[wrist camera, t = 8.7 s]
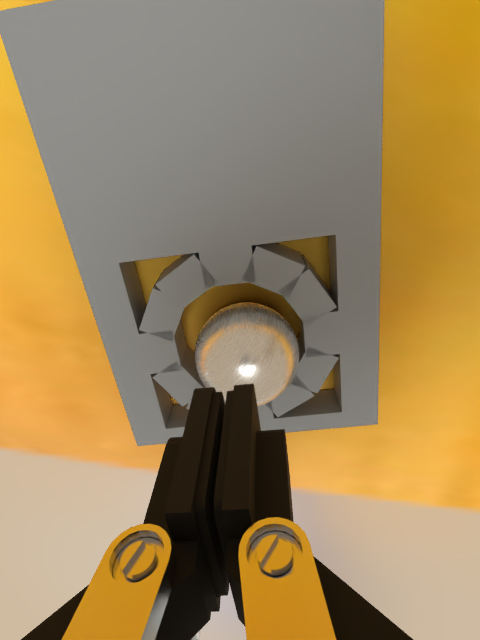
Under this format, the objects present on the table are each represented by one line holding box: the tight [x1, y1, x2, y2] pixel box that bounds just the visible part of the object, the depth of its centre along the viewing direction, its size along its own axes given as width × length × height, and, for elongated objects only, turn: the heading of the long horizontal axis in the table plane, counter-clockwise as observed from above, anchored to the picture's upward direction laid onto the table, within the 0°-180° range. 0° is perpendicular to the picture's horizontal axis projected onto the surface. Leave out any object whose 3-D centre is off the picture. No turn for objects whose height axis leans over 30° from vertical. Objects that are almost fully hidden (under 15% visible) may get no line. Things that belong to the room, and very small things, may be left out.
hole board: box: [0, 0, 384, 446], centre depth 22 cm, size 16×24×2 cm, turn 8°
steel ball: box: [195, 302, 299, 406], centre depth 23 cm, size 6×6×6 cm
